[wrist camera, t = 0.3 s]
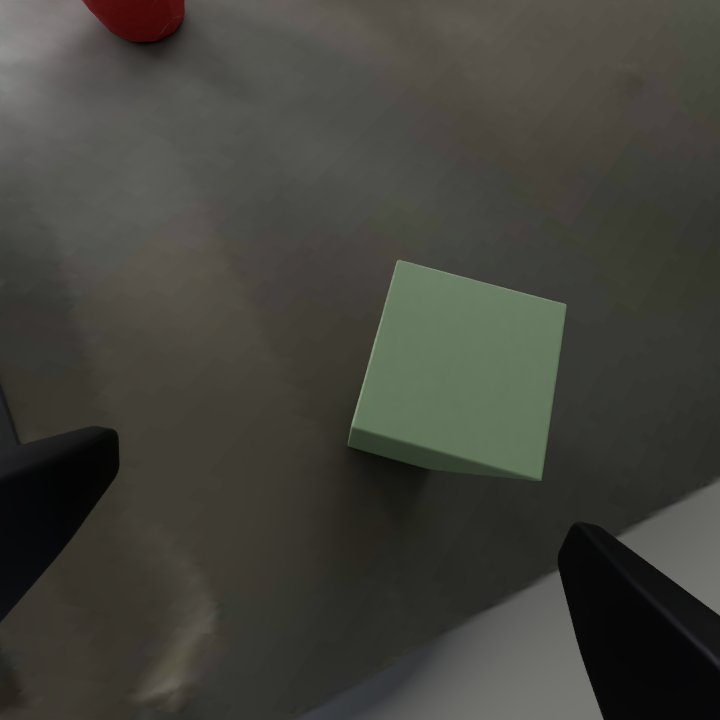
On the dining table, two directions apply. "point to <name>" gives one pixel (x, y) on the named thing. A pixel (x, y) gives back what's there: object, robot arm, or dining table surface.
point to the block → (460, 376)
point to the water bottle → (139, 17)
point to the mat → (6, 426)
